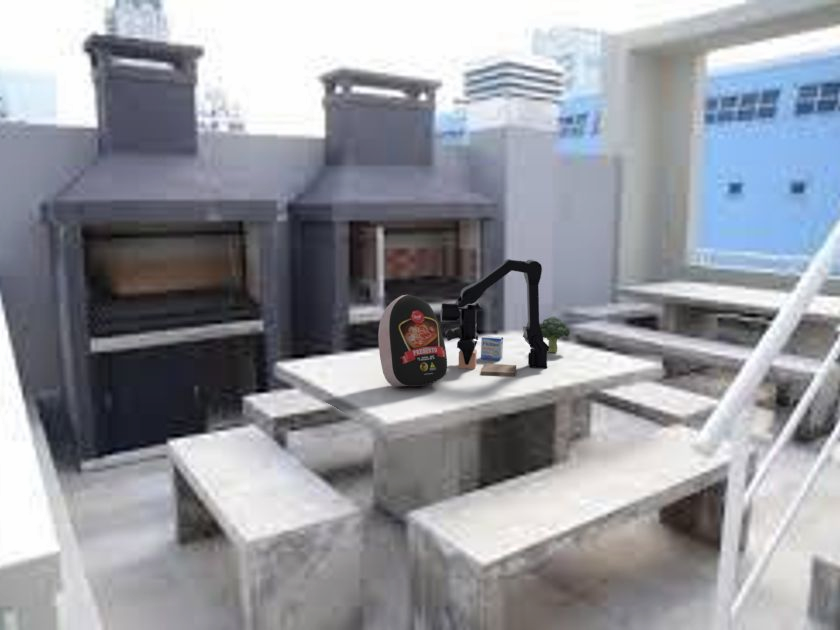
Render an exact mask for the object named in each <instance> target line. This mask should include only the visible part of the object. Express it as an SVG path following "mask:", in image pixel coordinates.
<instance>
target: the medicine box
mask: <svg viewBox="0 0 840 630" xmlns="http://www.w3.org/2000/svg"><path fill="white" fill-rule="evenodd" d="M480 343H481V345H480V359H481V360H488V361H489V360H491V361H501V360H502V359H503V352H504V351H503V348H504V337H503V336H490V335H483V336H482V337H481V342H480Z"/></svg>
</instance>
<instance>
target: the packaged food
mask: <svg viewBox="0 0 840 630" xmlns="http://www.w3.org/2000/svg"><path fill="white" fill-rule="evenodd" d="M377 341H378V351H379V358H380V365H381V369H382V373H383V375H384V378H385V380H386V381H387V383H388V384H389V385H391V386H393V387H417V386H428V385H430V384H434V383H436V382H438V381H439V380H441V379H442V378H444V377H445V376H446V374H447V371H448V359H447V358H448V357H447V349H446V345H445V344H446V343H445V340H444V335H443V333H442V329H441V325H440V323H439V320H438V318H437V316H436V314H435V312H434V309H433V308H432V307H431V305H430V303H428V302H427V301H426V300H424V299H422V298H421V297H417V296H416V295H415V296H414V295H411V294H405V295H403V294H402V295H400V296H398V297H397V298H395V299H394V300H392V301H391V302H390V303H389V304H388V305H387V307H386V308H385V310H384V311H383V313H382V315H381V318H380V321H379V326H378V340H377Z"/></svg>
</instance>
